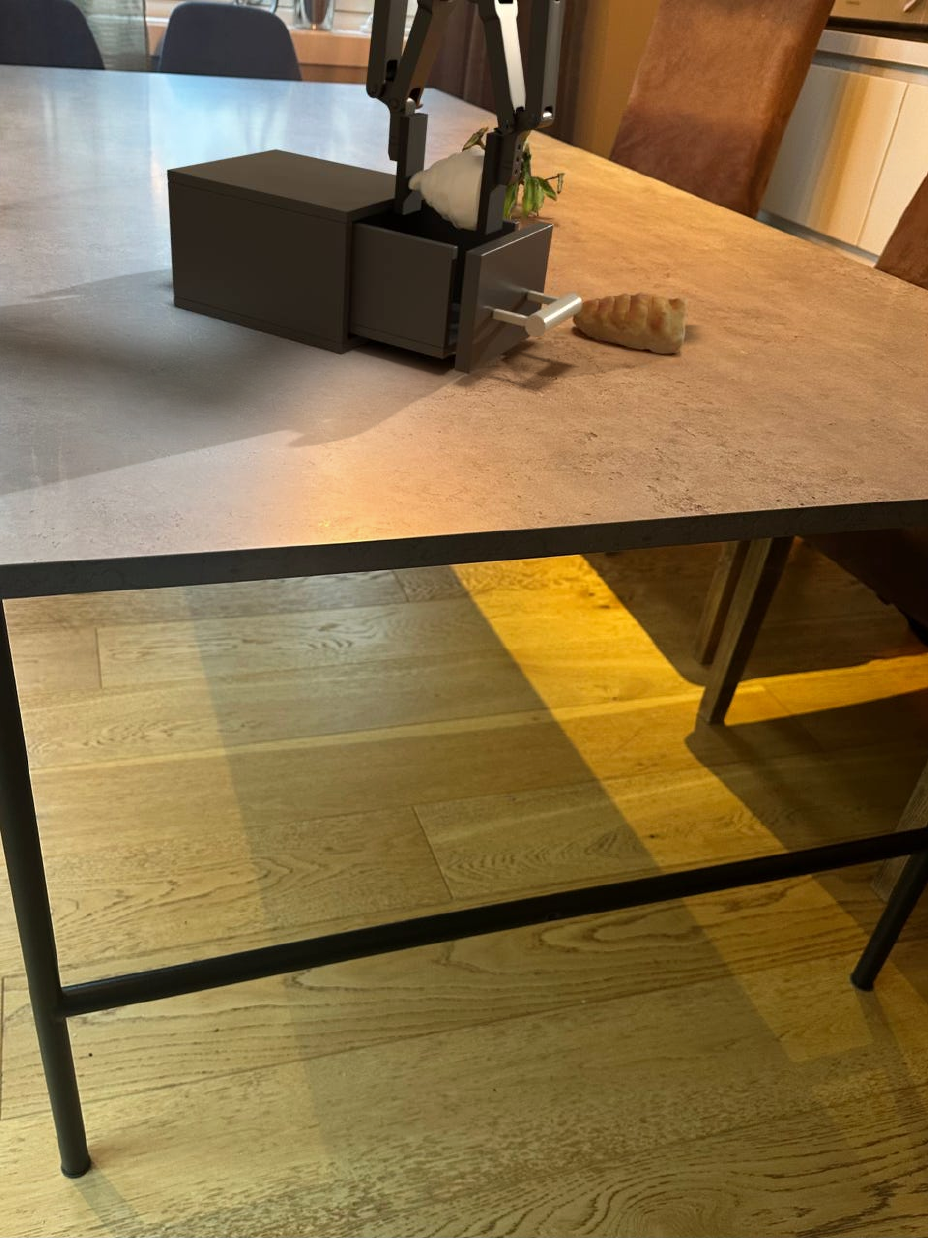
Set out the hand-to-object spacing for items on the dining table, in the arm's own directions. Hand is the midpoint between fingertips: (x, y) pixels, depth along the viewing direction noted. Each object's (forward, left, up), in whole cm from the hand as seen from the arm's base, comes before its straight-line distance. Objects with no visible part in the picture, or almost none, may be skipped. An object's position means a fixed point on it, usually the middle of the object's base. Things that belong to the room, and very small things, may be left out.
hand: (447, 220), depth 76 cm
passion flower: (-15, +45, -9) cm, 48 cm away
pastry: (+12, +13, -9) cm, 20 cm away
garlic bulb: (0, 0, 0) cm, 0 cm away
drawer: (+1, 0, -8) cm, 8 cm away
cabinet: (-12, 0, -9) cm, 15 cm away
